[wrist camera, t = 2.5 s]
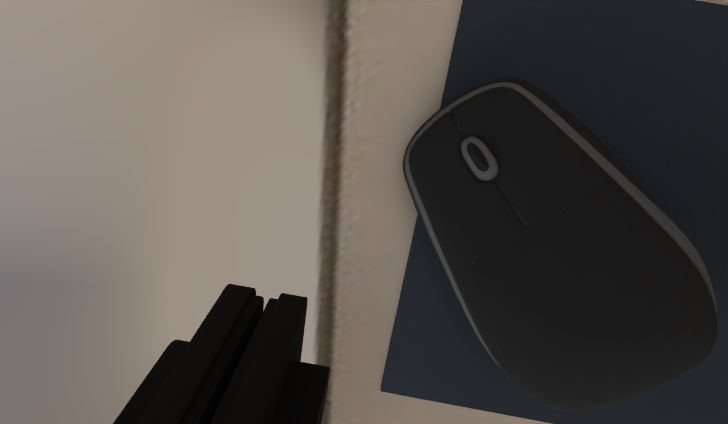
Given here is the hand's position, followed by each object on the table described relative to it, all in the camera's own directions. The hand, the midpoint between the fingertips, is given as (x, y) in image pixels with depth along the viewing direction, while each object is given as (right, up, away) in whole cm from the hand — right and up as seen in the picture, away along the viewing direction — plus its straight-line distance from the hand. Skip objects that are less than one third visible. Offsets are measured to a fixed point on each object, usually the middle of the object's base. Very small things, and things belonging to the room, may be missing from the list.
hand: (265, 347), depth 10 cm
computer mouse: (+8, +2, +6) cm, 11 cm away
